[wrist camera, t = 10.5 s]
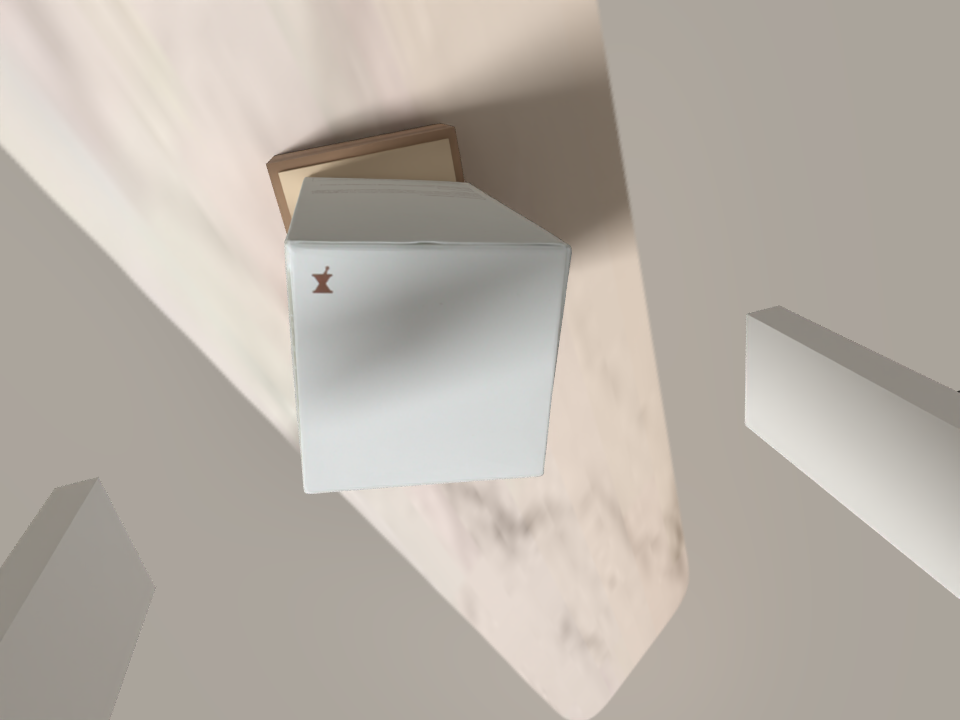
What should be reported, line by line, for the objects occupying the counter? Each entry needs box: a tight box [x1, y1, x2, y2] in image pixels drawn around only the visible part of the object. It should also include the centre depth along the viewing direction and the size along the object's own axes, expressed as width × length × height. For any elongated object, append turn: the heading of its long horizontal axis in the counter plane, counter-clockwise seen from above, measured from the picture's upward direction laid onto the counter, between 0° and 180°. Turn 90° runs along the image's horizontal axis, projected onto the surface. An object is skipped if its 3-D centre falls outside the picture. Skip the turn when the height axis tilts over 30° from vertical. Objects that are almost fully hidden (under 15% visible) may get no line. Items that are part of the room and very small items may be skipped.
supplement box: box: [285, 177, 572, 494], centre depth 23 cm, size 7×7×13 cm
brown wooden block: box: [266, 123, 464, 233], centre depth 30 cm, size 10×8×4 cm
